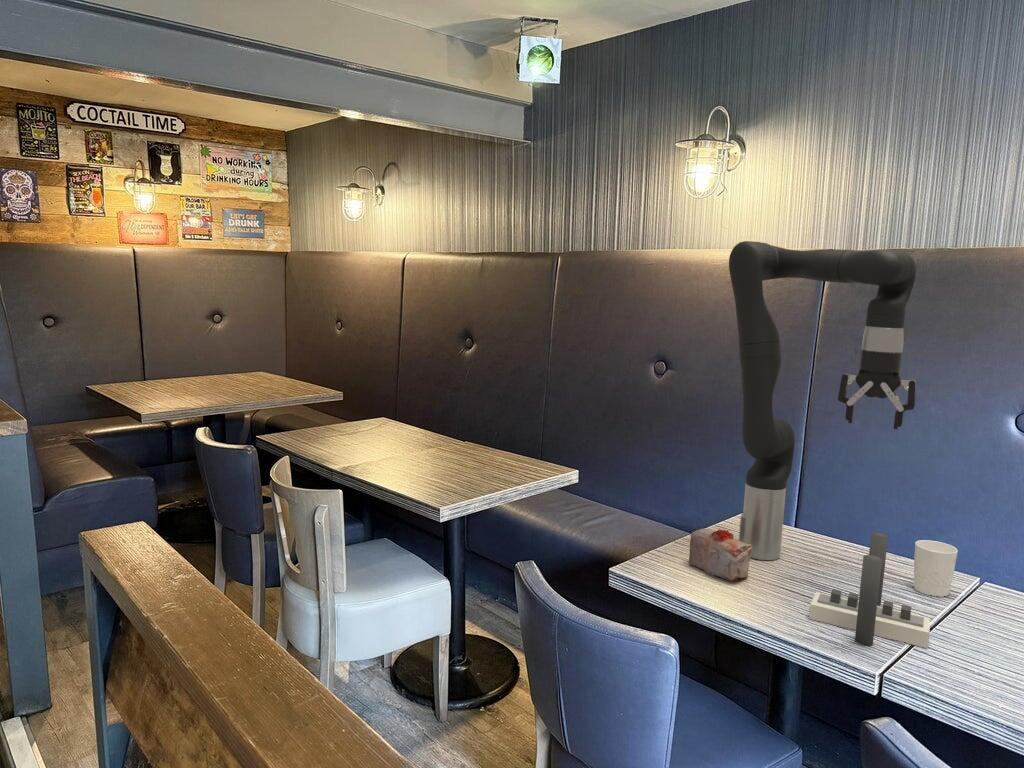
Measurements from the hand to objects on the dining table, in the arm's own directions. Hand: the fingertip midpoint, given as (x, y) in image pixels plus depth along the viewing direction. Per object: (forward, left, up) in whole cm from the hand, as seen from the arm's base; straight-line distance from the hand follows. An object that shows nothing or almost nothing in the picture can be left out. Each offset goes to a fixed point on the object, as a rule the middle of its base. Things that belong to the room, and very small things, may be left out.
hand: (872, 425), depth 149 cm
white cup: (+14, +8, -36) cm, 40 cm away
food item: (-27, -9, -36) cm, 46 cm away
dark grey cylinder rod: (+4, -11, -36) cm, 38 cm away
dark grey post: (+4, -26, -36) cm, 45 cm away
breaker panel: (+4, -19, -36) cm, 41 cm away
